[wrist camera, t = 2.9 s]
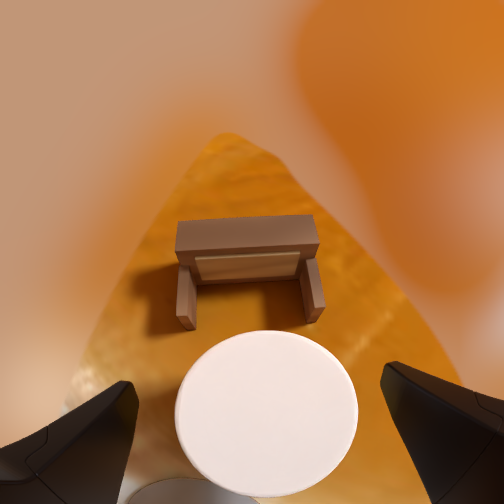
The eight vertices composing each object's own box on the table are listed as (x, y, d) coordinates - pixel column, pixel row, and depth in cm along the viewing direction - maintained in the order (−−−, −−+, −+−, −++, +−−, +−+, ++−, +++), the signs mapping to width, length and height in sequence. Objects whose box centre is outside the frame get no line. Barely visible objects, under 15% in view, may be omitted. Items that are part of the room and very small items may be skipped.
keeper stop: (315, 321, 16) (333, 294, 12) (186, 329, 16) (168, 304, 12) (303, 252, 19) (314, 214, 15) (189, 258, 18) (176, 221, 15)
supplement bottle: (191, 428, 12) (103, 446, 4) (235, 349, 15) (214, 262, 7) (280, 468, 11) (324, 544, 3) (321, 386, 14) (413, 343, 5)
